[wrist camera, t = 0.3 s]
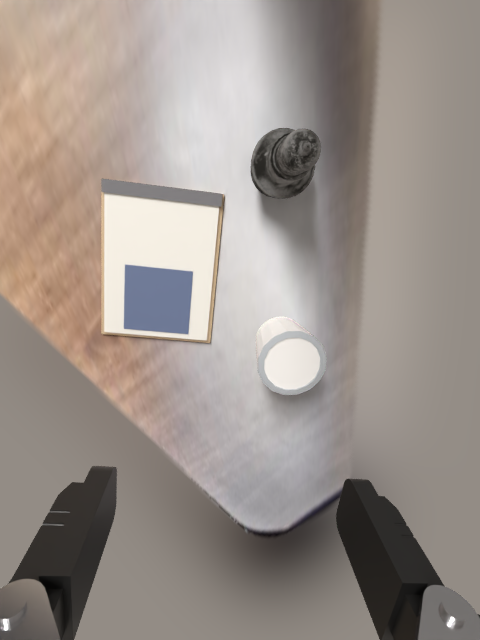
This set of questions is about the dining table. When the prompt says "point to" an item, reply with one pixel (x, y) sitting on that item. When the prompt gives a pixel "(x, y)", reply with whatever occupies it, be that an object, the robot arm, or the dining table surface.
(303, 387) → the shot glass
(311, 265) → the dining table surface
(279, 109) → the dining table surface
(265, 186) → the dark grey chess bishop
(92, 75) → the dining table surface
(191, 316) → the order pad
